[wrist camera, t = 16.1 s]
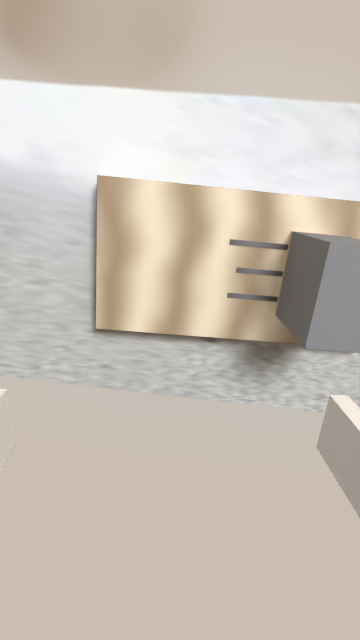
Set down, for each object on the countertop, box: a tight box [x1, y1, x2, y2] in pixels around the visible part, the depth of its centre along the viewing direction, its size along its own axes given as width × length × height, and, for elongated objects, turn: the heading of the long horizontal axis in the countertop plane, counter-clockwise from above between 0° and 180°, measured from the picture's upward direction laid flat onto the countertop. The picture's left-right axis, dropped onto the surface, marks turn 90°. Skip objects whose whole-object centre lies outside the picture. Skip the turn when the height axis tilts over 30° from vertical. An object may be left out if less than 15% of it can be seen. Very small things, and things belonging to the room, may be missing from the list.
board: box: [96, 175, 360, 344], centre depth 33 cm, size 28×14×2 cm, turn 85°
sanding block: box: [275, 231, 360, 353], centre depth 28 cm, size 8×5×8 cm, turn 175°
